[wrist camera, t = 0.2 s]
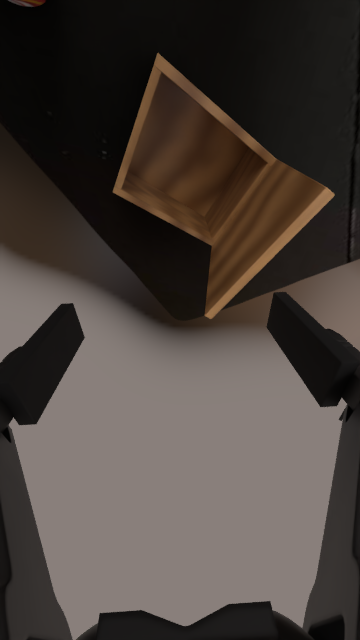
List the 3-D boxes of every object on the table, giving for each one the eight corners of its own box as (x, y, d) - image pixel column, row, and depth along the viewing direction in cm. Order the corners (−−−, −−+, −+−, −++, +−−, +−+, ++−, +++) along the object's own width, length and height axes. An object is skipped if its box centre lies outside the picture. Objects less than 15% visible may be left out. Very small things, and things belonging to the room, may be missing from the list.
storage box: (120, 170, 32) (112, 192, 27) (157, 57, 25) (157, 52, 19) (204, 220, 39) (213, 246, 33) (255, 143, 31) (277, 160, 25)
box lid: (204, 315, 21) (211, 319, 21) (326, 187, 13) (335, 195, 13) (211, 246, 33) (215, 249, 33) (276, 158, 25) (281, 163, 25)
